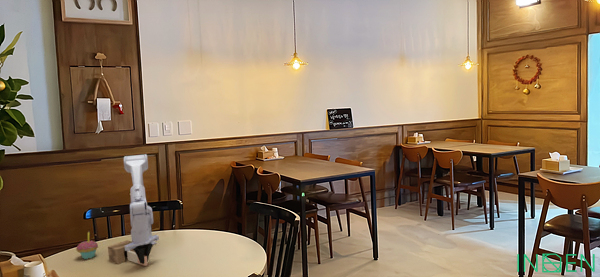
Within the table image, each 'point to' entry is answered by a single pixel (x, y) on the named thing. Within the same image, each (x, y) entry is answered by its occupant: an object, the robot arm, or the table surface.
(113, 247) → the dispenser
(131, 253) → the pink flat bar
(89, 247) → the cupcake
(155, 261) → the table surface
